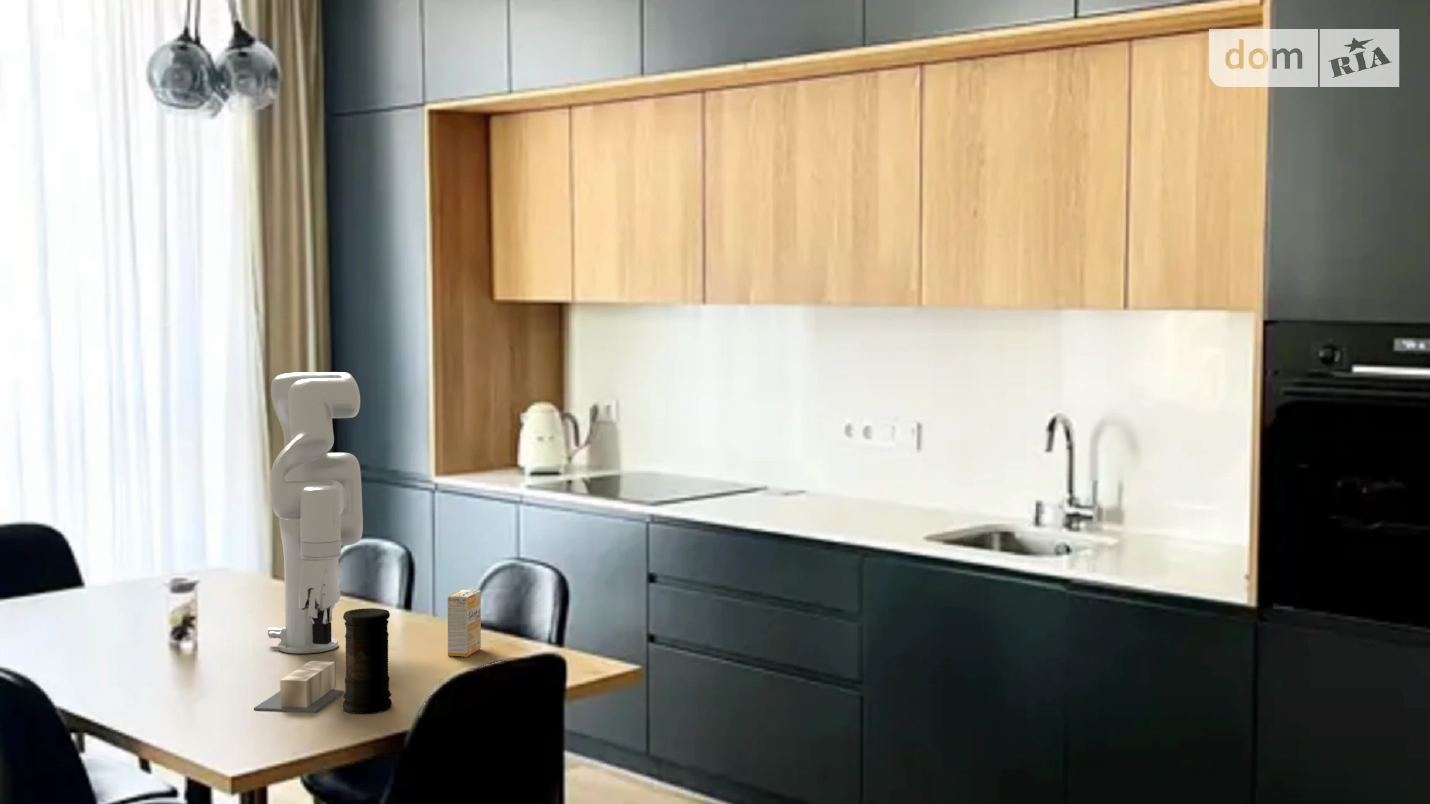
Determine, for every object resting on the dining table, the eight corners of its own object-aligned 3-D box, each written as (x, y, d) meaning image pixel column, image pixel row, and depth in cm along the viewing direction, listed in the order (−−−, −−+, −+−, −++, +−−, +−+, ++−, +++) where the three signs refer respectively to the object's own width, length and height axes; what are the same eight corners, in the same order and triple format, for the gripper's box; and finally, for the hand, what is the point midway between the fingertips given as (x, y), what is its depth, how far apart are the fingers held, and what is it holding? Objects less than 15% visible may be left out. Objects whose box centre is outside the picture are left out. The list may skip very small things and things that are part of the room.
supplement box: (468, 657, 314) (468, 596, 314) (447, 656, 315) (446, 595, 315) (482, 649, 322) (481, 589, 322) (461, 647, 323) (460, 588, 323)
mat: (253, 710, 273) (253, 707, 273) (284, 690, 287) (283, 688, 287) (316, 712, 272) (316, 710, 272) (343, 692, 286) (343, 690, 286)
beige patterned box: (311, 685, 289) (280, 706, 274) (310, 660, 289) (280, 679, 274) (336, 686, 288) (306, 707, 274) (335, 661, 288) (306, 680, 273)
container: (346, 701, 279) (345, 607, 278) (394, 701, 280) (394, 606, 279) (338, 715, 270) (337, 617, 269) (388, 714, 271) (387, 616, 270)
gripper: (316, 543, 294) (317, 634, 295) (286, 555, 279) (288, 651, 281) (353, 543, 293) (354, 635, 295) (325, 556, 279) (326, 652, 280)
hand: (322, 642), depth 288 cm, fingers closed
